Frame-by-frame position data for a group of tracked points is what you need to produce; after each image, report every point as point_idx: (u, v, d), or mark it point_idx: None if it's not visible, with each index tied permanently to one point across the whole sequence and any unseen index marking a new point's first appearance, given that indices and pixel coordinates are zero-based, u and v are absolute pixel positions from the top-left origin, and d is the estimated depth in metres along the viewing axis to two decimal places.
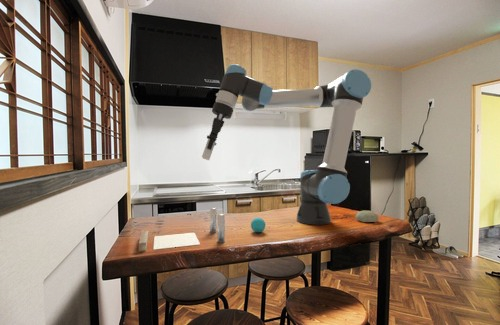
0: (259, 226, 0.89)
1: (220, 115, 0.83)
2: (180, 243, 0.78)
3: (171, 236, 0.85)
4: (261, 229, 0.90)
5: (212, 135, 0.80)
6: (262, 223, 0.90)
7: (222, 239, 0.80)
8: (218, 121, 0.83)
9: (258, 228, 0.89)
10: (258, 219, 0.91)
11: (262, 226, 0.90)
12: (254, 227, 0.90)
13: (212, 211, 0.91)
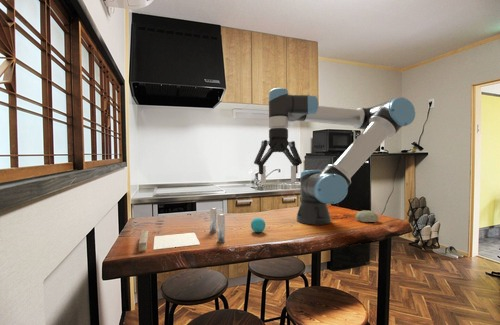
0: (259, 226, 0.89)
1: (262, 142, 0.93)
2: (180, 243, 0.78)
3: (171, 236, 0.85)
4: (261, 229, 0.90)
5: (255, 162, 0.92)
6: (262, 223, 0.90)
7: (222, 239, 0.80)
8: (261, 147, 0.93)
9: (258, 228, 0.89)
10: (258, 219, 0.91)
11: (262, 226, 0.90)
12: (254, 227, 0.90)
13: (212, 211, 0.91)
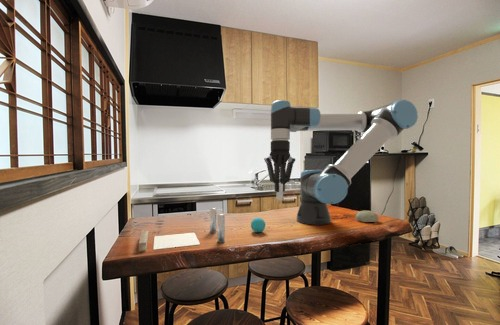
0: (259, 226, 0.89)
1: (265, 160, 0.93)
2: (180, 243, 0.78)
3: (171, 236, 0.85)
4: (261, 229, 0.90)
5: (271, 180, 0.94)
6: (262, 223, 0.90)
7: (222, 239, 0.80)
8: (268, 166, 0.94)
9: (258, 228, 0.89)
10: (258, 219, 0.91)
11: (262, 226, 0.90)
12: (254, 227, 0.90)
13: (212, 211, 0.91)
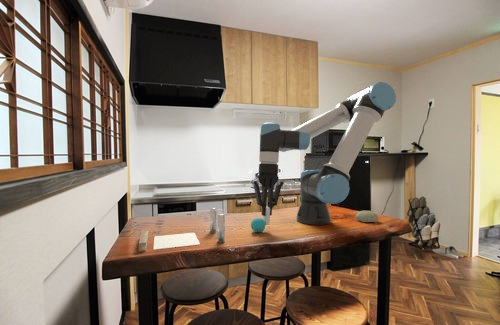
0: (259, 226, 0.89)
1: (253, 183, 0.92)
2: (180, 243, 0.78)
3: (171, 236, 0.85)
4: (261, 229, 0.90)
5: (258, 203, 0.93)
6: (262, 223, 0.90)
7: (222, 239, 0.80)
8: (255, 189, 0.92)
9: (258, 228, 0.89)
10: (258, 219, 0.91)
11: (262, 226, 0.90)
12: (254, 227, 0.90)
13: (212, 211, 0.91)
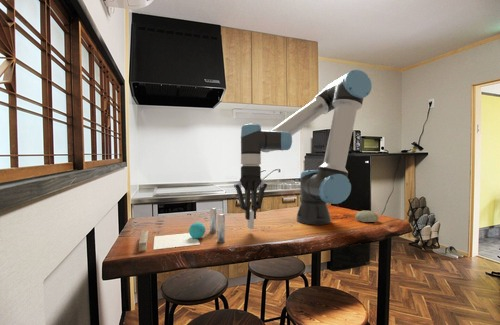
0: (198, 234, 0.82)
1: (235, 187, 0.89)
2: (180, 243, 0.78)
3: (171, 236, 0.85)
4: (200, 229, 0.82)
5: (241, 207, 0.90)
6: (194, 231, 0.82)
7: (222, 239, 0.80)
8: (237, 192, 0.89)
9: (200, 234, 0.82)
10: (191, 235, 0.82)
11: (197, 230, 0.82)
12: (200, 236, 0.83)
13: (212, 211, 0.91)
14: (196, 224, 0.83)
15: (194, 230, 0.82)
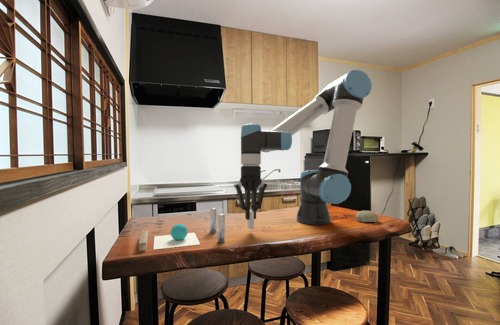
0: (180, 232, 0.80)
1: (235, 187, 0.89)
2: (180, 243, 0.78)
3: (171, 236, 0.85)
4: (176, 233, 0.80)
5: (241, 207, 0.90)
6: (180, 237, 0.80)
7: (222, 239, 0.80)
8: (237, 192, 0.89)
9: (180, 231, 0.80)
10: (185, 235, 0.82)
11: (178, 236, 0.80)
12: (182, 227, 0.81)
13: (212, 211, 0.91)
14: (174, 238, 0.80)
15: (180, 237, 0.80)
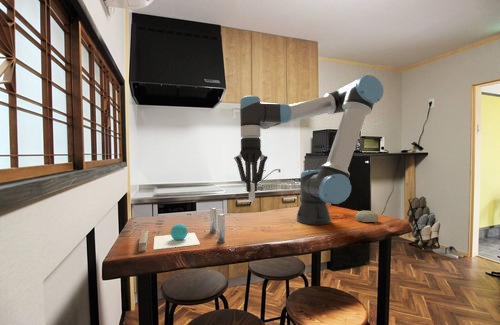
0: (180, 232, 0.80)
1: (235, 159, 0.89)
2: (180, 243, 0.78)
3: (171, 236, 0.85)
4: (176, 233, 0.80)
5: (242, 180, 0.90)
6: (180, 237, 0.80)
7: (222, 239, 0.80)
8: (238, 165, 0.89)
9: (180, 231, 0.80)
10: (185, 235, 0.82)
11: (178, 236, 0.80)
12: (182, 227, 0.81)
13: (212, 211, 0.91)
14: (174, 238, 0.80)
15: (180, 237, 0.80)
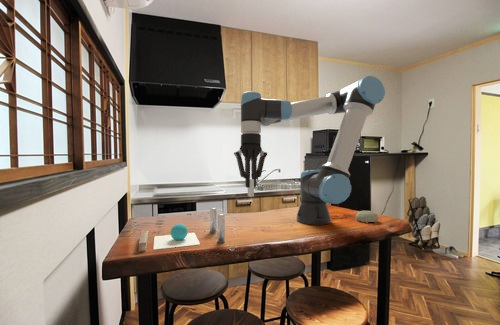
0: (180, 232, 0.80)
1: (235, 154, 0.89)
2: (180, 243, 0.78)
3: (171, 236, 0.85)
4: (176, 233, 0.80)
5: (241, 175, 0.90)
6: (180, 237, 0.80)
7: (222, 239, 0.80)
8: (238, 160, 0.89)
9: (180, 231, 0.80)
10: (185, 235, 0.82)
11: (178, 236, 0.80)
12: (182, 227, 0.81)
13: (212, 211, 0.91)
14: (174, 238, 0.80)
15: (180, 237, 0.80)
